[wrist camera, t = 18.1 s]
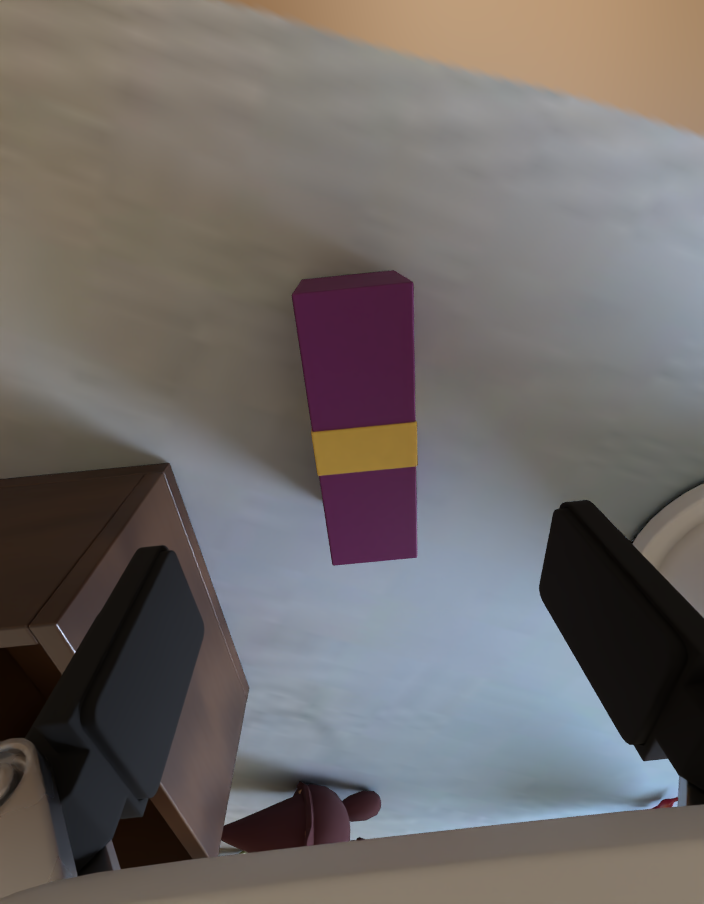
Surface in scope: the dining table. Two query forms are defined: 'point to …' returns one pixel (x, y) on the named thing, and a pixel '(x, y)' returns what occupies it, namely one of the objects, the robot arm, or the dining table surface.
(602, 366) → the dining table surface
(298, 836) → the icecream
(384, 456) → the candy bar
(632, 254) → the dining table surface
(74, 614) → the chest
